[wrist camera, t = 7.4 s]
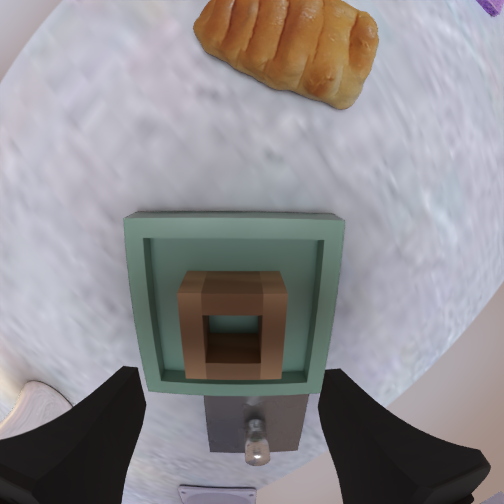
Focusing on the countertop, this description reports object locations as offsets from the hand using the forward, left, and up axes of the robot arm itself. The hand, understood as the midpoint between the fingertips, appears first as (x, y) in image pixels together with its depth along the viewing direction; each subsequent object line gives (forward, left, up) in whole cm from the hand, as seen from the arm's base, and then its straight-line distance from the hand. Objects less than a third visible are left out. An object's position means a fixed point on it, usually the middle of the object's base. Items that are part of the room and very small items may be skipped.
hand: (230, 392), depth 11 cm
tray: (0, 0, -8) cm, 8 cm away
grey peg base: (-9, -2, -8) cm, 12 cm away
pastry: (+15, -3, -8) cm, 17 cm away
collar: (0, 0, -7) cm, 7 cm away
